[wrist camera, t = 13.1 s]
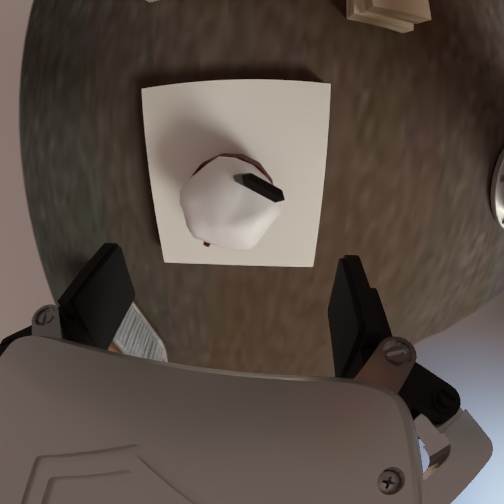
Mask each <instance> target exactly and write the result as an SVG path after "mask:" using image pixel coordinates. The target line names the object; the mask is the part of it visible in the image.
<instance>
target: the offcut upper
mask: <svg viewBox="0 0 504 504" xmlns="http://www.w3.org/2000/svg"><path fill="white" fill-rule="evenodd" d="M360 2H361V8H362V14H369V15H375V16H381V17H387V18H392V19H396V20H401V21H405V22H410V23H414V24H418V23H422V22H425V21H429V20H431V13H430V7H429V1H428V0H360Z"/></svg>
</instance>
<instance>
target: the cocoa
mask: <svg viewBox="0 0 504 504" xmlns="http://www.w3.org/2000/svg"><path fill="white" fill-rule="evenodd" d="M283 200H285V199H284V195H283V191H282V190H281V189H279V188H277V187H276V186H274V185H273V180H272V178H271V177H270V176H269V174H268V173H267V172H266V170H265V169H264V168H263V166H262V165H261V164H260V163H259V162H258V161H256V160H254V159H252V158H250V157H248V156H246V155H244V154H232V153H223V154H220V155H218V156H215V157H213V158H211V159H209V160H207V161H204V162H203V163H202V164H201V165H200V166H199V167H198V168H197V170H196V171H195V172H194V173H193V175H192V176H191V177H190V179H189V180H188V181H187V182H186V184H185V185H184V186H183V187H182V189H181V190H180V205H181V207H182V209H183V213H184V217H185V222H186V226H187V228H188V229H189V231H190V233H191V234H192V236H193V238H196V239H199V240H202V241H204V243H203V245H204V246H207V247H209V246H210V244H213V245H215V246H218V247H220V248H232V249H253V248H254V246H255V245H256V244H257V243H258V242H259V241H260V239H261V238H262V237H263V235H264V234H265V232H266V231H267V230H268V228H269V227H270V225H271V224H272V223H273V222H274V221H275V219H276V218H277V217H278V216H279V215H280V213H281V203H280V201H283Z"/></svg>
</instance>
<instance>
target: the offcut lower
mask: <svg viewBox="0 0 504 504" xmlns="http://www.w3.org/2000/svg"><path fill="white" fill-rule="evenodd" d="M347 19H350V20H355V21H359V22H364V23H368V24H372V25H376V26H379V27H383V28H387V29H390V30H393V31H397V32H400V33H406V32H409V31H413V30H414V23H410V22H405V21H401V20H396V19H392V18H387V17H381V16H375V15H369V14H362V8H361V2H360V0H347Z"/></svg>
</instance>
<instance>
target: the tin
mask: <svg viewBox="0 0 504 504" xmlns="http://www.w3.org/2000/svg"><path fill="white" fill-rule="evenodd" d="M108 350H109V351H113V352H117V353H122V354H126V355H131V356H136V357H141V358H146V359H151V360H157V361H163V362H168V363H169V357H168V352H167V349H166V346H165V344H164V342H163V340H162V338H161V337H160V335H159V334H158V333H157V331H156V330H155V329H154V327H153V326H152V324H151V323H150V321H149V320H148V319H147V317H146V316H145V314H144V313H143V311H142V310H141V308H140V307H139V305H138V304H137V302H136V301H135V300H134V301H133V303H132V305H131V306H130V308H129V310H128V312H127V314H126V316H125V317H124V319H123V321H122V323H121V325H120V327H119V329H118V331H117V333H116V335H115V336H114V338H113V340H112V342H111V344H110V346H109V348H108Z"/></svg>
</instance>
